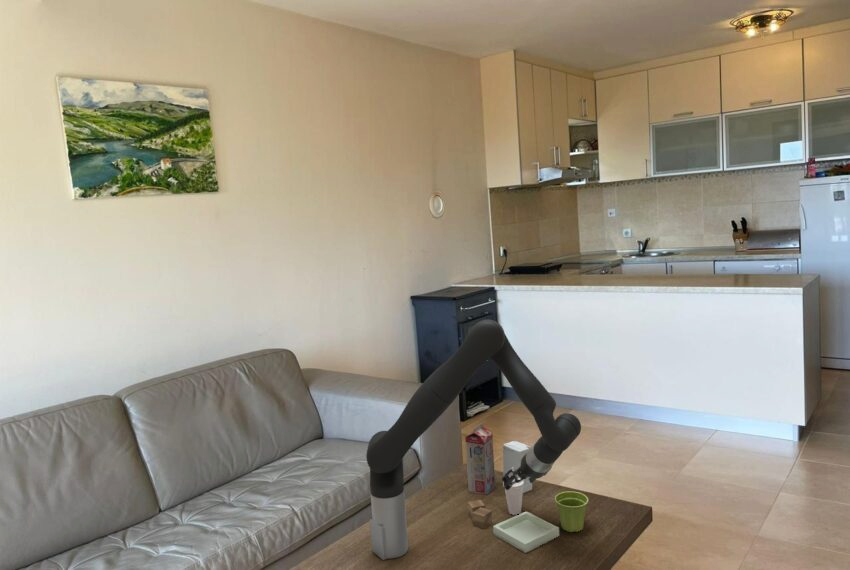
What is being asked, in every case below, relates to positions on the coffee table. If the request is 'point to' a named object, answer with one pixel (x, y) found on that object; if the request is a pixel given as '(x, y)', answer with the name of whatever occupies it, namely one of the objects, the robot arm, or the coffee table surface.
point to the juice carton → (480, 460)
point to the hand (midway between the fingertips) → (518, 483)
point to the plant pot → (571, 510)
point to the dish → (526, 531)
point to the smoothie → (514, 497)
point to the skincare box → (515, 459)
